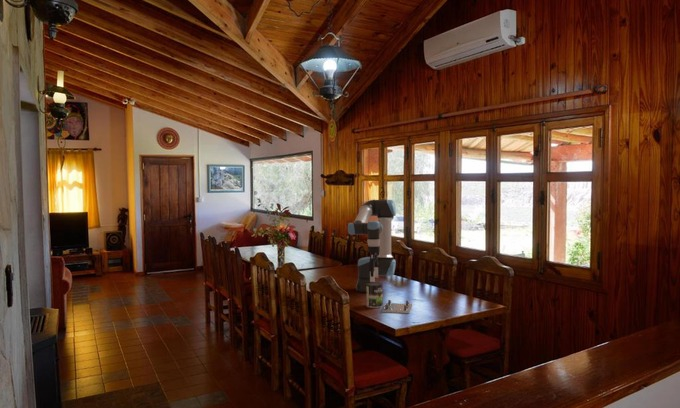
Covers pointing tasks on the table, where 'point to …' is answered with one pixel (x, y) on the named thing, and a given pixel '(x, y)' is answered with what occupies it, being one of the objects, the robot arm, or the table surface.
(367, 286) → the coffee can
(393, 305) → the pin plate
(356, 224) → the robot arm
